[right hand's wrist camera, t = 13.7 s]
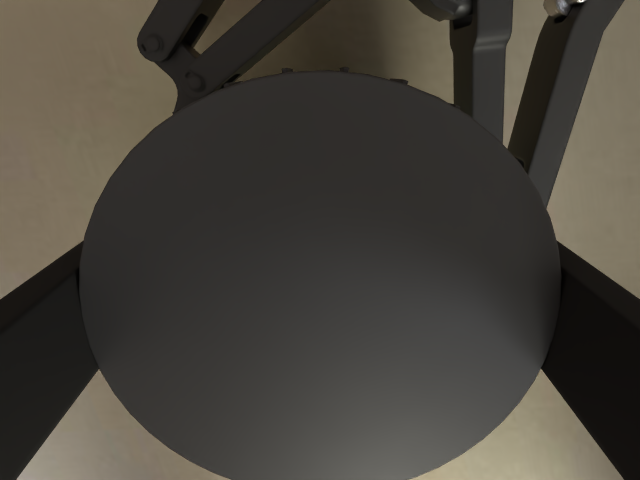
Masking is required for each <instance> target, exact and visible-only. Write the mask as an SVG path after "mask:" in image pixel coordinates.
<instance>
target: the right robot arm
mask: <svg viewBox="0 0 640 480" xmlns="http://www.w3.org/2000/svg"><path fill="white" fill-rule="evenodd" d="M556 241H557V240H556ZM83 242H84V241H82V242H81V243H79V244H78V245H77V246H75V247H74V248H72V249H71V250H70V251H68V252H67V253H65V254H64V255H63V256H61V257H60V258H58V259H57V260H55V261H54V262H53V263H51V264H50V265H48V266H47V267H46V268H44V269H43V270H41V271H40V272H39V273H37V274H36V275H34V276H33V277H31V278H30V279H29V280H27V281H26V282H24V283H23V284H22V285H20V286H19V287H17V288H16V289H15V290H13V291H12V292H10V293H9V294H7V295H6V296H5V297H3V298H2V299H0V480H16V479H17V478H18V476H19V475H20V474H21V472H22V471H23V470H24V468H25V467H26V466H27V464H28V463H29V462H30V460H31V459H32V458H33V456H34V455H35V454H36V452H37V451H38V450H39V448H40V447H41V446H42V444H43V443H44V442H45V440H46V439H47V438H48V436H49V435H50V434H51V432H52V431H53V430H54V428H55V427H56V426H57V424H58V423H59V422H60V420H61V419H62V418H63V416H64V415H65V414H66V412H67V411H68V409H69V408H70V407H71V405H72V404H73V403H74V401H75V400H76V399H77V397H78V396H79V395H80V393H81V392H82V391H83V389H84V388H85V387H86V385H87V384H88V383H89V381H90V380H91V379H92V377H93V376H94V375H95V373H96V372H97V371H98V369H99V366H98V364H97V362H96V360H95V357H94V355H93V353H92V350H91V348H90V346H89V342H88V338H87V335H86V330H85V326H84V322H83V318H82V313H81V305H80V297H79V267H80V259H81V253H82V248H83ZM557 244H558V249H559V258H560V267H561V275H562V278H561V304H560V309H559V314H558V319H557V323H556V328H555V332H554V336H553V339H552V342H551V345H550V348H549V351H548V354H547V357H546V359H545V361H544V363H543V365H542V367H541V369H542V370H543V372H544V373H545V374H546V376H547V377H548V378H549V380H550V381H551V382H552V384H553V385H554V386H555V388H556V389H557V390H558V392H559V393H560V394H561V396H562V397H563V398H564V400H565V401H566V402H567V404H568V405H569V406H570V408H571V409H572V410H573V412H574V413H575V414H576V416H577V417H578V418H579V420H580V421H581V423H582V424H583V425H584V427H585V428H586V429H587V431H588V432H589V433H590V435H591V436H592V437H593V439H594V440H595V441H596V443H597V444H598V445H599V447H600V448H601V449H602V451H603V452H604V453H605V455H606V456H607V457H608V459H609V460H610V461H611V463H612V464H613V465H614V467H615V468H616V469H617V471H618V472H619V473H620V475H621V476H622V477H623V479H624V480H640V299H639V298H637V297H636V296H634V295H633V294H631V293H630V292H629V291H627V290H626V289H624V288H623V287H622V286H620V285H619V284H617V283H616V282H614V281H613V280H612V279H610V278H609V277H607V276H606V275H605V274H603V273H602V272H600V271H599V270H598V269H596V268H595V267H593V266H592V265H590V264H589V263H588V262H586V261H585V260H583V259H582V258H581V257H579V256H578V255H576V254H575V253H574V252H572V251H571V250H569V249H568V248H566V247H565V246H564V245H562V244H561V243H559V242H558V241H557Z"/></svg>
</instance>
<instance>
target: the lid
mask: <svg viewBox="0 0 640 480" xmlns="http://www.w3.org/2000/svg"><path fill="white" fill-rule="evenodd" d="M407 83H408V81H406V80H402V79H390V80H388V79H384V78H380V77H376V76H372V75H368V74H360V73H350V72H349V68H348V67H342V68H340V71H330V70H325V71H300V72H293V69H289V68H284V69H282V73H281V74H276V75H270V76H265V77H259V78H254V79H250V80H247V81H244V82H243V81H241V82H231V83H226V84H224V88H223V89H220V90H217V91H215V92H213V93H211V94H209V95H207V96H205V97H203V98H201V99H199V100H197V101H195V102H193V103H191V104H189V105H187V106H185V107H183V108H182V109H178V110H175V111H174V112H172V113H173V115H172V116H171V117H169V118H168V119H166V120H165V121H164V122H162V123H161V124H159V125H158V126H157V127H155V128H154V129H153V130H152V131H151V132H150V133H149V134H148V135H147V136H146V137H145V138H144V139H143V140H142V141H140V142H139V143H138V144H137V145H136V146H135V147H134V148H133V149H132V150H131V151H130V152H129V154H128V155H127V156H126V157H125V159H124V160H123V161H122V163H121V164H120V165H119V167H118V168H117V169H116V171H115V172H114V173H113V175H112V176H111V177H110V179H109V181H108V182H107V184H106V186H105V188H104V190H103V192H102V194H101V195H100V197H99V199H98V201H97V203H96V205H95V207H94V210H93V213H92V216H91V219H90V221H89V224H88V227H87V230H86V233H85V237H84V242H83V248H82V253H81V259H80V267H79V297H80V305H81V313H82V318H83V322H84V326H85V330H86V335H87V338H88V342H89V346H90V348H91V350H92V353H93V355H94V357H95V360H96V362H97V364H98V366H99V369H100V371H101V373H102V374H103V376H104V377H105V379H106V381H107V382H108V384H109V386H110V387H111V389H112V391H113V392H114V394H115V395H116V396H117V398H118V399H119V400H120V401H121V403H122V404H123V405H124V406H125V408H126V409H127V410H128V412H129V413H130V414H131V415H132V416H133V417H134V418H135V419H136V420H137V421H138V422H139V423H140V424H141V425H142V426H143V427H144V428H145V429H146V430H147V431H148V432H149V433H151V434H152V435H153V436H154V437H156V438H157V439H158V440H159V441H161V442H162V443H163V444H164V445H166V446H167V447H168V448H170V449H171V450H173V451H174V452H176V453H178V454H179V455H181V456H182V457H184V458H186V459H187V460H189V461H190V462H192V463H194V464H196V465H198V466H201V467H203V468H205V469H207V470H209V471H211V472H213V473H215V474H218V475H220V476H223V477H226V478H229V479H231V480H409V479H412V478H415V477H418V476H420V475H422V474H425V473H427V472H429V471H432V470H434V469H436V468H438V467H440V466H442V465H444V464H446V463H447V462H449V461H451V460H453V459H455V458H456V457H458V456H460V455H462V454H463V453H465V452H466V451H467V450H469V449H470V448H472V447H473V446H474V445H476V444H477V443H479V442H480V441H481V440H483V439H484V438H485V437H486V436H487V435H488V434H489V433H491V432H492V431H493V430H494V429H495V428H496V427H497V426H498V425H499V424H501V423H502V422H503V421H504V419H505V418H506V417H507V416H508V415H509V414H510V413H511V412H512V410H513V409H514V408H515V407H516V406H517V405H518V404H519V402H520V401H521V400H522V398H523V397H524V395H525V394H526V392H527V391H528V389H529V388H530V386H531V385H532V383H533V382H534V380H535V379H536V377H537V375H538V373H539V371H540V369H541V367H542V365H543V363H544V361H545V359H546V357H547V354H548V351H549V348H550V345H551V342H552V339H553V336H554V332H555V328H556V323H557V319H558V314H559V309H560V304H561V278H562V275H561V267H560V258H559V249H558V244H557V241H556V237H555V233H554V230H553V226H552V223H551V219H550V216H549V214H548V212H547V210H546V208H545V205H544V203H543V201H542V199H541V197H540V194H539V192H538V190H537V188H536V187H535V185H534V184H533V182H532V181H531V179H530V178H529V176H528V175H527V173H526V172H525V170H524V169H523V167H522V166H521V164H520V163H519V162H518V160H517V159H516V158H515V157H514V156H513V155H512V154H511V153H510V152H509V151H508V149H507V148H506V147H505V146H504V145H503V143H502V142H501V141H500V140H498V138H497V137H495V136H494V135H493V134H492V133H490V132H489V131H488V130H487V129H485V128H484V127H483V126H482V125H480V124H479V123H478V122H477V121H476V120H474V119H473V118H472V117H471V116H469V115H468V114H466V113H464V112H462V111H461V110H460V108H461V107H459V106H458V105H455V104H450V103H447V102H445V101H444V100H442V99H440V98H439V97H436V96H434V95H431V94H429V93H426V92H424V91H421V90H419V89H417V88H414V87H412V86H409V85H407Z"/></svg>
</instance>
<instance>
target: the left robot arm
mask: <svg viewBox="0 0 640 480" xmlns="http://www.w3.org/2000/svg"><path fill="white" fill-rule="evenodd" d="M329 1H330V0H262V1H261V2H260V3H259V4H258V5H256V6H255V7H254V8H253V9H252V10H251V11H250V12H248V13H247V14H246V15H245V16H244V17H243V18H242V19H241V20H239V21H238V22H237V23H236V24H235V25H234V26H233V27H231V28H230V29H229V30H228V31H227V32H226V33H225V34H224V35H222V36H221V37H220V38H219V39H218V40H217V41H216V42H215V43H213V44H212V45H211V46H210V47H209V48H208V49H207V50H205V51H204V52H203V53H202V54H201V55H200V54H199V53H198V52H197V51H196V50H195V49H194V46H195V45H196V43H197V42H198V40H199V38H200V37H201V35H202V34H203V32H204V31H205V29H206V28H207V26H208V25H209V23H210V22H211V20H212V19H213V17H214V15H215V14H216V12H217V11H218V9H219V8H220V6H221V5H222V3H223V2H224V0H159V1H158V2H157V4H156V6H155V7H154V9H153V11H152V12H151V14H150V16H149V17H148V19H147V21H146V22H145V24H144V26H143V27H142V29H141V31H140V32H139V35H138V38H137V46H138V48H139V51H140V53H141V54H142V55H143V56H144V57H145V58H146V59H148V60H150V61H153V62H155V63H156V64H157V65H158V66H159V67H160V68H161V69H162V70H164V71H165V72H166V73H167V74H168V75H169V76H170V77H171V78H172V79H173V81H174V82H175V84H176V87H177V90H178V98H177V102H176V106H175V109H174V111H175V110H178V109H182V108H183V107H185V106H187V105H189V104H191V103H193V102H195V101H197V100H199V99H201V98H203V97H205V96H207V95H209V94H211V93H213V92H215V91H217V90H220V89H223V88H224V84H226V83H231V82H235V81H236V80H237V79H238V78H239V77H240V76H242V75H243V74H244V73H245V72H246V71H248V70H249V69H250V68H251V67H252V66H253V65H255V64H256V63H257V62H258V61H259V60H261V59H262V58H263V57H264V56H265V55H266V54H268V53H269V52H270V51H271V50H272V49H274V48H275V47H276V46H277V45H278V44H279V43H281V42H282V41H283V40H284V39H285V38H287V37H288V36H289V35H290V34H291V33H292V32H294V31H295V30H296V29H297V28H298V27H300V26H301V25H302V24H303V23H304V22H305V21H307V20H308V19H309V18H310V17H311V16H313V15H314V14H315V13H316V12H317V11H318V10H320V9H321V8H322V7H323V6H324V5H326V4H327V3H328V2H329ZM409 1H411V2H412V3H413V4H414V5H415V6H416V7H417V8H418V9H419V10H420V11H421V12H422V13H423V14H425V15H427V16H429V17H431V18H433V19H435V20H437V21H439V22H440V21H442V20H444V19H445V20H450V46H451V49H452V51H453V68H454V104H455V105H458V106H459V107H461V108H460V110H461V111H462V112H464V113H466V114H468V115H469V116H471V117H472V118H473V119H474V120H476V121H477V122H478V123H479V124H480V125H482V126H483V127H484V128H485V129H487V130H488V131H489V132H490V133H492V134H493V135H494V136H495V137H497V138H498V140H500V141H501V142H502V143H503V117H504V85H505V52H506V45H507V43H508V41H509V39H510V36H511V32H512V15H513V0H409ZM623 2H624V0H544V4H543V6H544V9H545V10H546V12H547V13H548V14H549V16H548V18H547V19H546V21H545V23H544V25H543V28H542V30H541V32H540V35H539V38H538V41H537V44H536V47H535V51H534V54H533V58H532V61H531V65H530V69H529V72H528V76H527V80H526V83H525V87H524V91H523V94H522V98H521V102H520V105H519V109H518V113H517V116H516V120H515V123H514V127H513V131H512V134H511V138H510V142H509V145H508V151H509V152H510V153H511V154H512V155H513V156H514V157H515V158H516V159H517V160H518V162H519V163H520V164H521V166H522V167H523V169H524V170H525V172H526V173H527V175H528V176H529V178H530V179H531V181H532V182H533V184H534V185H535V187H536V188H537V190H538V192H539V194H540V197H541V199H542V201H543V203H544V205H545V208H547V205H548V202H549V199H550V196H551V192H552V189H553V186H554V183H555V180H556V177H557V174H558V171H559V168H560V165H561V161H562V158H563V155H564V152H565V149H566V146H567V143H568V140H569V137H570V134H571V131H572V127H573V124H574V121H575V118H576V115H577V112H578V109H579V106H580V103H581V100H582V96H583V93H584V90H585V87H586V84H587V81H588V78H589V75H590V72H591V69H592V65H593V62H594V59H595V56H596V53H597V50H598V47H599V44H600V41H601V38H602V35H603V32H604V30H605V29H606V27H607V26H608V24H609V23H610V21H611V20H612V18H613V17H614V15H615V14H616V12H617V11H618V9H619V8H620V6H621V5H622V3H623Z"/></svg>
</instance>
